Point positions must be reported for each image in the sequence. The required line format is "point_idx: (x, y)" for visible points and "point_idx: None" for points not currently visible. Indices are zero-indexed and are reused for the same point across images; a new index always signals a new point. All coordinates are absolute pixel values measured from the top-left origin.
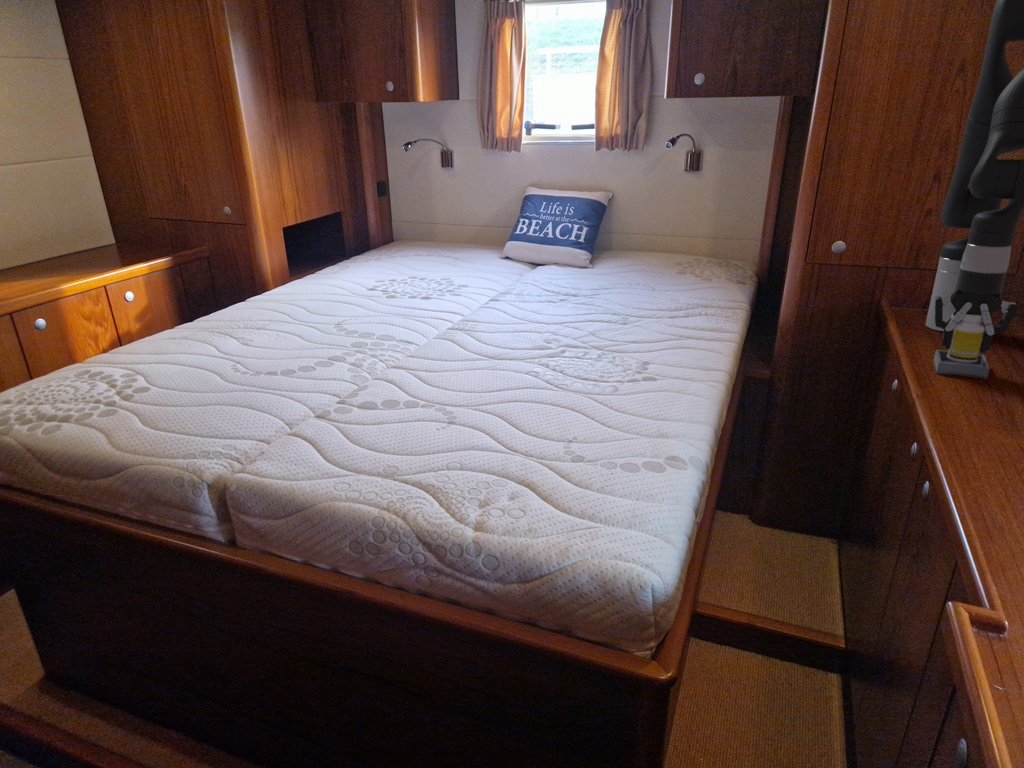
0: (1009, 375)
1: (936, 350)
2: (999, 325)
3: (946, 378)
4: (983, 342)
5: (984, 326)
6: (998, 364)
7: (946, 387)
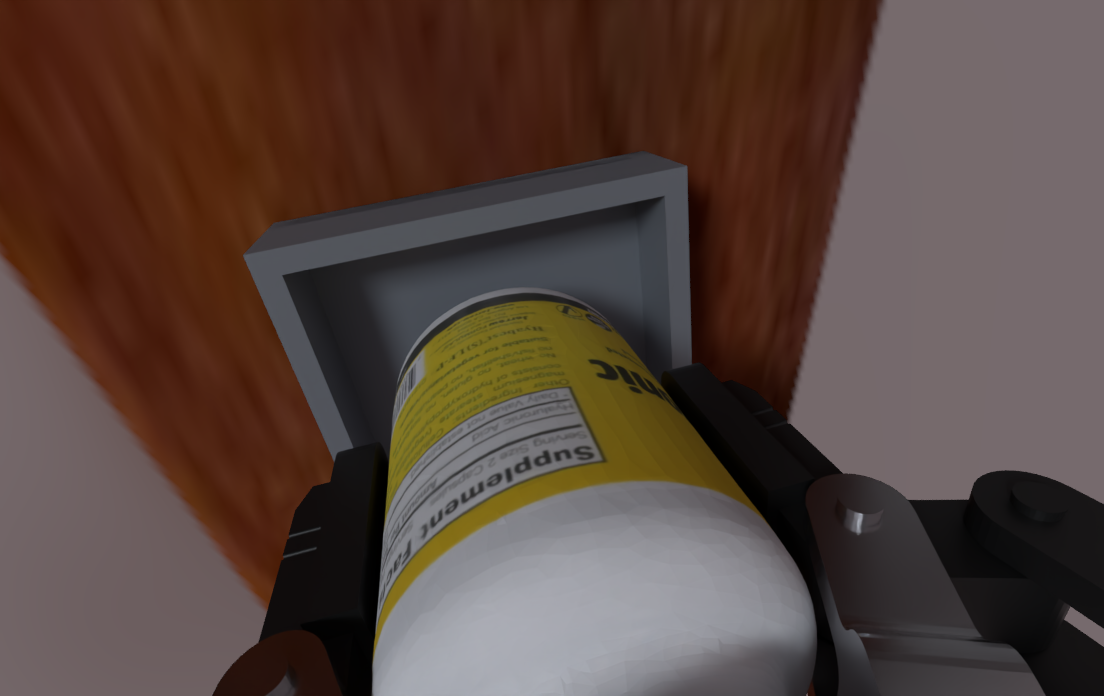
0: (792, 274)
1: (257, 277)
2: (1032, 591)
3: None
4: None
5: (812, 670)
6: (769, 15)
7: None
